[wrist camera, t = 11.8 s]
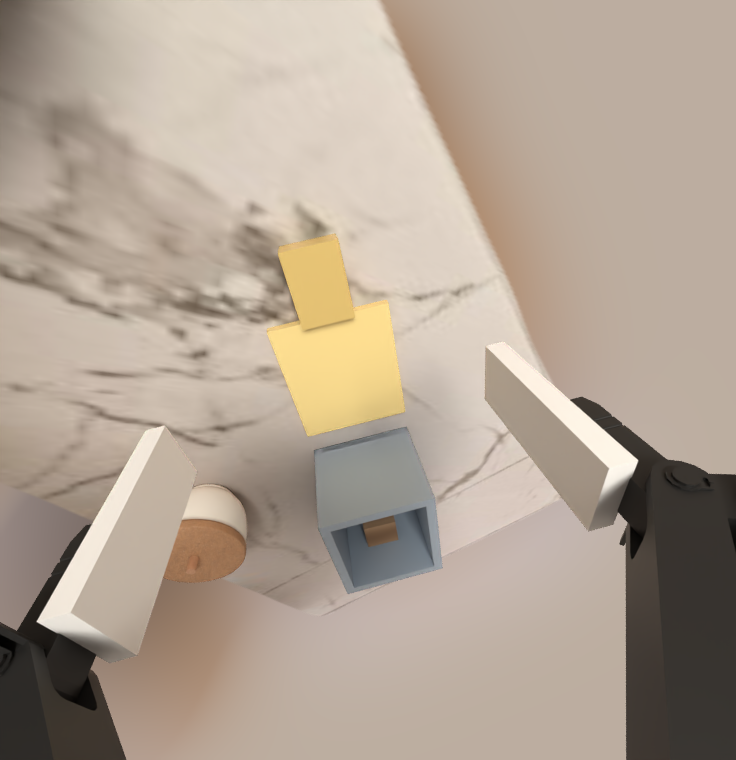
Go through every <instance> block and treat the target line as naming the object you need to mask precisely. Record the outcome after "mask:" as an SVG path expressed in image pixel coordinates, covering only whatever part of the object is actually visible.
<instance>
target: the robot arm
mask: <svg viewBox="0 0 736 760" xmlns="http://www.w3.org/2000/svg"><path fill="white" fill-rule="evenodd" d="M485 400H486V401H487V402H488V404H489V405H490V406H491V408H492V409H493V410H494V411H495V413H496V414H497V415H498V417H499V418H500V419H501V420H502V422H503V423H504V424H505V425H506V427H507V428H508V429H509V431H510V432H511V433H512V434H513V436H514V437H515V438H516V440H517V441H518V442H519V443H520V445H521V446H522V447H523V448H524V450H525V451H526V452H527V454H528V455H529V456H530V457H531V459H532V460H533V461H534V463H535V464H536V465H537V466H538V468H539V469H540V470H541V472H542V473H543V474H544V475H545V477H546V478H547V479H548V480H549V482H550V483H551V484H552V486H553V487H554V488H555V489H556V491H557V492H558V493H559V495H560V496H561V497H562V498H563V500H564V501H565V502H566V504H567V505H568V506H569V507H570V509H571V510H572V511H573V512H574V514H575V515H576V516H577V518H578V519H579V520H580V521H581V523H582V524H583V525H584V527H585V528H586V529H587V530H588V531H592V530H595V529H598V528H602V527H606V526H610V525H613V524H614V521H615V519H616V516H617V513H620V515H622V517H623V518H624V519H625V520H626V521H627V522H628V524H627V526H626V528H625V531H624V533H623V535H622V538H621V540H620V545H623V546H624V545H625V543H626V760H736V475H731V474H708V473H707V472H705V471H704V470H702V469H700V468H698V467H696V466H694V465H691V464H688V463H685V462H682V461H674V460H667V459H666V458H664V457H663V456H662V455H660V454H659V453H658V452H657V451H655V450H654V449H653V448H652V447H651V446H649V445H648V444H647V443H646V442H645V441H643V440H642V439H641V438H640V437H638V436H637V435H636V434H634V433H633V432H632V431H631V430H630V429H629V428H627V427H626V426H623V425H622V423H621V422H620V421H619V420H617V419H616V418H615V417H612V416H611V414H610V413H609V412H607V411H606V410H605V409H604V408H603V407H601V406H600V405H599V404H597V403H595V402H592V401H590V400H588V399H586V398H583V397H579V398H575V399H571V400H569V399H568V398H567V397H566V396H565V395H564V394H562V393H561V392H560V391H559V390H558V389H557V388H556V387H554V386H553V385H552V384H551V383H550V382H549V381H548V380H547V379H545V378H544V377H543V376H542V375H541V374H540V373H539V372H537V371H536V370H535V369H534V368H533V367H532V366H531V365H530V364H528V363H527V362H526V361H525V360H524V359H523V358H522V357H520V356H519V355H518V354H517V353H516V352H515V351H514V350H513V349H511V348H510V347H509V346H508V345H507V344H506V343H505V342H500V343H496V344H492V345H488V346H486V357H485ZM196 475H197V471H196V469H195V468H194V466H193V465H192V463H191V462H190V460H189V459H188V458H187V456H186V455H185V453H184V452H183V450H182V449H181V448H180V446H179V445H178V443H177V442H176V440H175V439H174V437H173V436H172V435H171V433H170V432H169V430H168V429H167V427H166V426H162V427H158V428H154V429H150V430H146V431H145V433H144V434H143V436H142V438H141V440H140V441H139V443H138V445H137V447H136V448H135V450H134V452H133V454H132V455H131V457H130V459H129V461H128V462H127V464H126V466H125V468H124V469H123V471H122V473H121V475H120V476H119V478H118V480H117V482H116V483H115V485H114V487H113V489H112V490H111V492H110V494H109V496H108V497H107V499H106V501H105V503H104V505H103V506H102V508H101V510H100V512H99V513H98V515H97V517H96V519H95V520H94V522H93V524H90V525H86V526H85V527H84V528H83V529H82V530H81V531H80V532H79V533H78V534H77V536H76V537H75V538H74V539H73V540H72V541H71V542H70V544H69V546H68V547H67V549H66V550H65V552H64V554H63V555H62V557H61V559H60V563H58V564H57V565H56V567H55V568H54V570H53V572H52V573H51V574H52V576H51V577H50V578H48V580H47V582H46V583H45V585H44V587H43V588H42V590H41V592H40V594H39V595H38V597H37V598H36V600H35V602H34V604H33V605H32V607H31V609H30V610H29V612H28V613H27V615H26V617H25V618H24V620H23V622H22V623H21V625H20V627H19V629H18V630H17V631H16V630H14V629H12V628H10V627H8V626H6V625H4V624H2V623H1V622H0V760H126V757H125V755H124V752H123V749H122V746H121V743H120V741H119V737H118V735H117V732H116V729H115V726H114V723H113V720H112V717H111V714H110V711H109V709H108V706H107V703H106V700H105V697H104V694H103V691H102V689H101V686H100V683H99V680H98V677H97V675H96V674H95V673H94V672H93V671H92V670H90V668H91V666H92V664H93V662H94V659H95V657H96V656H98V657H99V658H101V659H103V660H105V661H106V662H108V663H112V662H116V661H120V660H123V659H127V658H130V657H134V656H137V655H138V652H139V649H140V646H141V643H142V640H143V637H144V634H145V631H146V628H147V625H148V622H149V619H150V616H151V613H152V609H153V607H154V604H155V600H156V597H157V594H158V591H159V588H160V585H161V582H162V579H163V576H164V573H165V570H166V567H167V564H168V561H169V558H170V555H171V552H172V549H173V546H174V542H175V539H176V536H177V533H178V530H179V527H180V524H181V521H182V518H183V515H184V512H185V509H186V506H187V503H188V500H189V497H190V494H191V491H192V487H193V484H194V481H195V478H196Z"/></svg>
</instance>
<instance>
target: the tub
mask: <svg viewBox="0 0 736 760" xmlns="http://www.w3.org/2000/svg"><path fill="white" fill-rule="evenodd" d="M314 457H315V477H316V498H317V518H318V530H319V532H320V534H321V536H322V539H323V541H324V543H325V545H326V547H327V549H328V552H329V554H330V556H331V558H332V560H333V563H334V565H335V567H336V569H337V571H338V574H339V576H340V578H341V580H342V582H343V585H344V587H345V589H346V591H347V593H348V594H350V593H354V592H357V591H361V590H365V589H368V588H372V587H376V586H379V585H383V584H387V583H390V582H394V581H398V580H401V579H405V578H409V577H412V576H416V575H420V574H423V573H427V572H431V571H434V570H438V569H441V568H443V567H442V558H441V549H440V540H439V530H438V521H437V512H436V503H435V497H434V494H433V492H432V489H431V487H430V484H429V482H428V479H427V477H426V474H425V472H424V469H423V467H422V464H421V462H420V459H419V457H418V454H417V452H416V449H415V447H414V445H413V442H412V440H411V437H410V435H409V432H408V430H407V427H404V428H400V429H396V430H392V431H388V432H384V433H380V434H376V435H372V436H368V437H364V438H360V439H357V440H353V441H349V442H345V443H341V444H337V445H333V446H329V447H325V448H321V449H317V450H314ZM392 515H394V519H395V523H396V529H397V534H398V540H396V541H392V542H388V543H384V544H380V545H376V546H372V547H368V543H367V539H366V536H365V532H364V528H363V523H365V522H369V521H373V520H377V519H381V518H384V517H388V516H392Z"/></svg>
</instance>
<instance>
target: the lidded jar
mask: <svg viewBox="0 0 736 760" xmlns="http://www.w3.org/2000/svg"><path fill="white" fill-rule="evenodd" d="M246 540H247V518H246V513H245V510H244V508H243V506H242V504H241V502H240V501H239V500H238V499H237V498H236V497H235V496H234V495H233V493H232V492H231V491H230V490H229V489H227V488H225V487H223V486H220V485H216V484H202V485H198V486H195V487H193V488H192V491H191V494H190V497H189V500H188V503H187V506H186V509H185V512H184V515H183V518H182V521H181V524H180V527H179V530H178V533H177V536H176V539H175V542H174V546H173V549H172V552H171V555H170V558H169V561H168V564H167V567H166V570H165V573H164V576H163V578H165V579H169V580H173V581H178V582H205V581H211V580H215V579H218V578H222V577H224V576H226V575H228V574H230V573H232V572H234V571H235V570H236V569H237V568H238V567H239V566H240V565H241V564H242V562H243V561H244V559H245V555H246Z"/></svg>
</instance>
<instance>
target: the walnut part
mask: <svg viewBox="0 0 736 760" xmlns="http://www.w3.org/2000/svg"><path fill="white" fill-rule="evenodd" d="M363 528H364V532H365V536H366V539H367V543H368V547H372V546H376V545H380V544H384V543H388V542H392V541H396V540H398V534H397V529H396V523H395V519H394V515H392V516H388V517H384V518H381V519H377V520H373V521H369V522H365V523H363Z"/></svg>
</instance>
